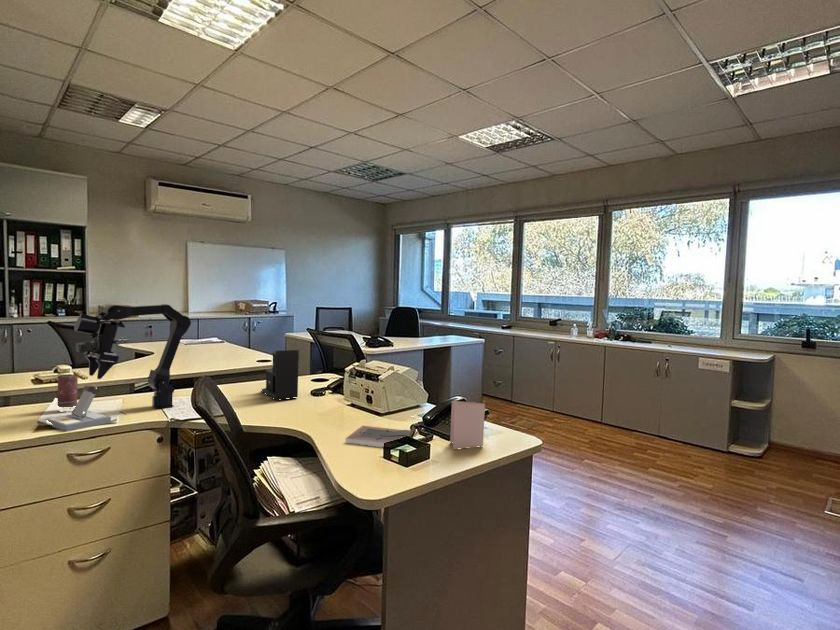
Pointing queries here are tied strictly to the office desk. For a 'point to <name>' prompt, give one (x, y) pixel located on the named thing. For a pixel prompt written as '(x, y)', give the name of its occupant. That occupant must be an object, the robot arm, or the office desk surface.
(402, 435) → the pale purple book
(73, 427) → the switch base
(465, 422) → the greeting card
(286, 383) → the bookend
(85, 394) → the toggle lever
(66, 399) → the can
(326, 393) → the office desk surface
